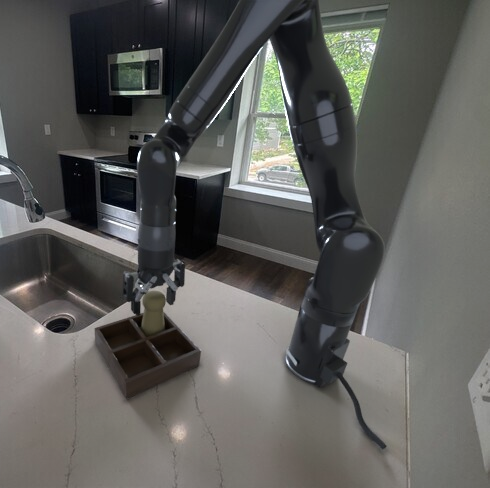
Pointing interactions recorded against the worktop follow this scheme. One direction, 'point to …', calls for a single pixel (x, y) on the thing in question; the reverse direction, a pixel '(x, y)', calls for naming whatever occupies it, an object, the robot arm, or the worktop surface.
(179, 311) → the worktop surface
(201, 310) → the worktop surface
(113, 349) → the grid
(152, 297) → the yellow peg doll
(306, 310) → the robot arm
